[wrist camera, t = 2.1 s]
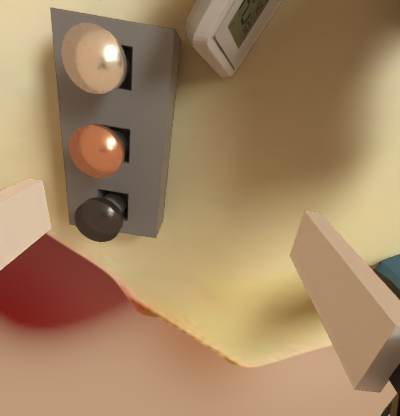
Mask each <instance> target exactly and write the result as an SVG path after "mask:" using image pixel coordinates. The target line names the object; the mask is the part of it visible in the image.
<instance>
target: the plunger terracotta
mask: <svg viewBox="0 0 400 416" xmlns="http://www.w3.org/2000/svg"><path fill="white" fill-rule="evenodd" d="M127 148H128V142H127V139H126V137H125V136H124V135H123V134H122V133H121V132H120V131H118V130H114V129H110V128H108V127H106V126H104V125H100V124H91V125H87V126H83V127H80V128H78V129H77V130H76V131H75V132H74V133H73V134H72V136H71V138H70V141H69V152H70V156H71V158H72V160H73V162H74V164H75V165H76V166H77V167H78V168H79V169H80V170H81V171H82V172H83V173H85V174H87V175H89V176H91V177H95V178H104V177H108V176H110V175H112V174H113V173H115V172H116V171H117V170H118V169H119V168H120V167H121V166H122V164H123V162H124V158H125V152H126V151H127Z"/></svg>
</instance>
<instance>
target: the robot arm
mask: <svg viewBox="0 0 400 416" xmlns="http://www.w3.org/2000/svg"><path fill="white" fill-rule="evenodd" d="M50 229H51V223H50V217H49V212H48V207H47V201H46V196H45V190H44V185H43V180H35V179H26V180H23V181H21V182H19V183H17V184H14V185H12V186H10V187H8V188H6V189H3V190H1V191H0V270H1V269H2V268H4V267H5V266H6V265H7V264H9V263H10V262H11V261H12V260H14V259H15V258H16V257H17V256H18V255H20V254H21V253H22V252H23V251H24V250H26V249H27V248H28V247H29V246H31V245H32V244H33V243H34V242H35V241H37V240H38V239H39V238H40V237H41V236H43V235H44V234H45V233H46V232H48V231H49V230H50ZM290 257H291V259H292V261H293V263H294V265H295V268H296V270H297V272H298V274H299V276H300V278H301V280H302V282H303V284H304V286H305V288H306V290H307V292H308V294H309V297H310V299H311V301H312V303H313V305H314V307H315V309H316V311H317V313H318V315H319V317H320V319H321V321H322V323H323V326H324V328H325V330H326V332H327V334H328V336H329V338H330V340H331V342H332V344H333V346H334V348H335V350H336V352H337V355H338V356H339V358H340V361H341V363H342V365H343V367H344V369H345V371H346V373H347V375H348V377H349V379H350V381H351V384H352V386H353V388H354V389H355V390H362V391H371V392H381V390H382V389H383V387H384V386H385V385H386V384H387V382H388V381H389V380H390V382H391V384H392V385H393V387H394V388H395V390H396V391H397V394H396V396H395V397H394V398H393V399H392V401H391V402H390V403H389V404H388V406H387V407H386V408H385V410H384V411H383V413H382V414H381V416H388V415H389V414H390V416H400V290H399V289H398V288H397V286H396V285H395V284H394V283H393V282H392V281H391V280H390V279H388V278H387V277H385V276H384V275H382V274H381V273H379V272H378V271H377V270H372V269H371V268H370V267H369V266H368V265H367V264H366V263H365V262H364V260H363V259H362V258H361V257H360V256H359V255H358V254H357V253H356V252H355V251H354V250H353V248H352V247H351V246H350V245H349V244H348V243H347V242H346V241H345V240H344V239H343V237H342V236H341V235H340V234H339V233H338V232H337V231H336V230H335V229H334V228H333V227H332V225H331V224H330V223H329V222H328V221H327V220H326V219H325V218H324V217H323V216H322V215H321V213H320V212H311V211H304V213H303V216H302V219H301V223H300V226H299V229H298V232H297V235H296V238H295V241H294V244H293V247H292V250H291V254H290Z"/></svg>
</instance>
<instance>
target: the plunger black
mask: <svg viewBox="0 0 400 416" xmlns="http://www.w3.org/2000/svg"><path fill="white" fill-rule="evenodd" d="M125 209H126V202H125V200H124V198H123V197H122V196H121V195H119V194H117V193H108V194H106V195H105V196H104V197H103V198H100V197H94V198H90V199H88V200H86V201H85V202H84V203H82V204H81V205H80V206H79V207H78V208H77V210H76V212H75V216H74V219H75V224H76V226H77V228H78V229H79V231H80V232H81V233H82V234H83V235H84V236H86V237H87V238H89V239H91V240H94V241H98V242H106V241H110V240H112V239H113V238H115V237H116V236H117V234H118V233H119V231H120V230H121V228H122V226H123V215H122V213H123V212H124V211H125Z"/></svg>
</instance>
